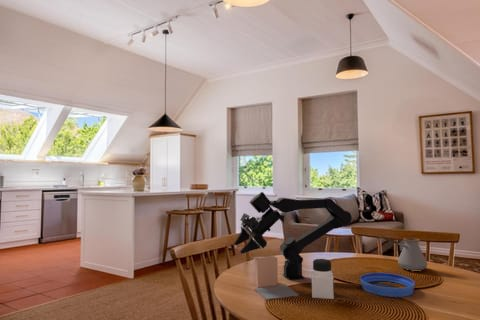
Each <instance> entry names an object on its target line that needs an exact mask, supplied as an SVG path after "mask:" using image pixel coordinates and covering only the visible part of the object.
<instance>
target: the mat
mask: <svg viewBox="0 0 480 320" xmlns="http://www.w3.org/2000/svg"><path fill="white" fill-rule="evenodd" d="M254 290H255V292H257V293H258V295H260V296H261V297H262V298H263V299H264V300H266V301H271V300H277V299H278V298H279V299H285V297H286V298H291V297H292V296H294V297H299V296H300V294H299V293H298V292H296V291H294V290H293V289H292V288H290V287H289V286H288V285H286V284H281V285H274V286H266V287H255V288H254ZM290 296H291V297H290ZM270 299H271V300H270Z"/></svg>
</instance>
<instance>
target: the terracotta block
mask: <svg viewBox="0 0 480 320" xmlns="http://www.w3.org/2000/svg"><path fill="white" fill-rule="evenodd" d="M278 263H279V262H278V257H276V256H274V255H269V256H268V255H267V256H255V257H253V285H254V286H256V288H263V287H272V286H279V283H278V281H279V279H278V278H279V277H278V275H279V273H278V272H279V271H278V266H279V265H278Z"/></svg>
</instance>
